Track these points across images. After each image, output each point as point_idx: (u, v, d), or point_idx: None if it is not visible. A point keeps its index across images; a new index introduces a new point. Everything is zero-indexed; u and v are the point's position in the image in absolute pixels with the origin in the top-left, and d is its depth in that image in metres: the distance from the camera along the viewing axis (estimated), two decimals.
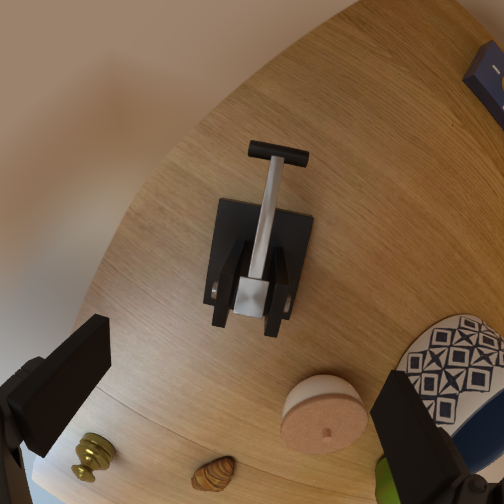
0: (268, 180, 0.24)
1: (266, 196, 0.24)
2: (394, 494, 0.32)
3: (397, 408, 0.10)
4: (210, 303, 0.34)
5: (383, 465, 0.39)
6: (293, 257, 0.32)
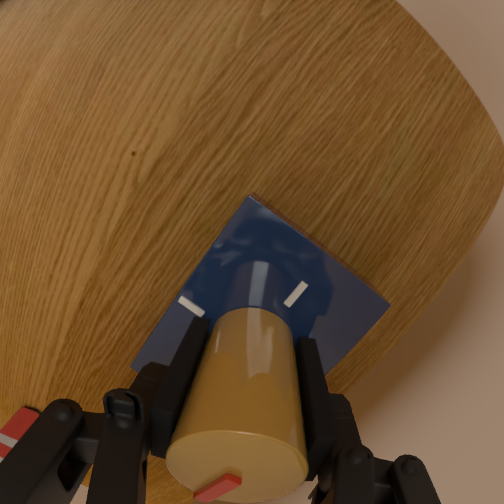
0: None
1: None
2: None
3: (299, 371, 0.12)
4: None
5: None
6: None
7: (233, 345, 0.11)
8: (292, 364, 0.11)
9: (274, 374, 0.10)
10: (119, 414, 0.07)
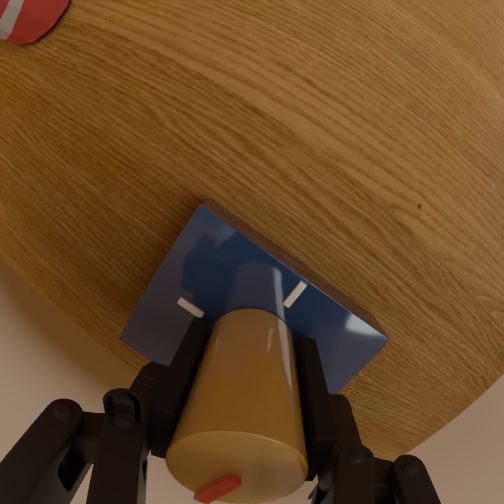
0: None
1: None
2: None
3: (299, 371, 0.12)
4: None
5: None
6: None
7: (232, 346, 0.11)
8: (292, 365, 0.11)
9: (274, 375, 0.10)
10: (119, 413, 0.07)
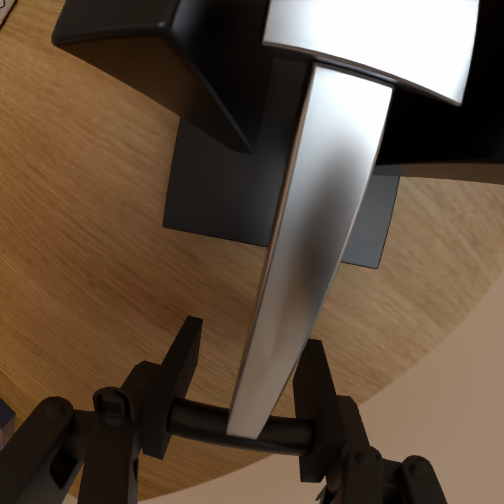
0: (266, 413, 0.07)
1: (273, 390, 0.07)
2: None
3: (306, 373, 0.12)
4: None
5: None
6: None
7: None
8: None
9: None
10: (109, 412, 0.07)
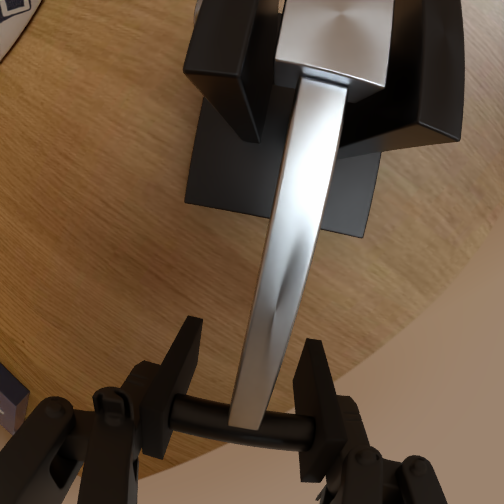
0: (269, 386, 0.08)
1: (276, 349, 0.08)
2: None
3: (306, 373, 0.12)
4: None
5: None
6: (220, 121, 0.15)
7: None
8: None
9: None
10: (108, 412, 0.07)
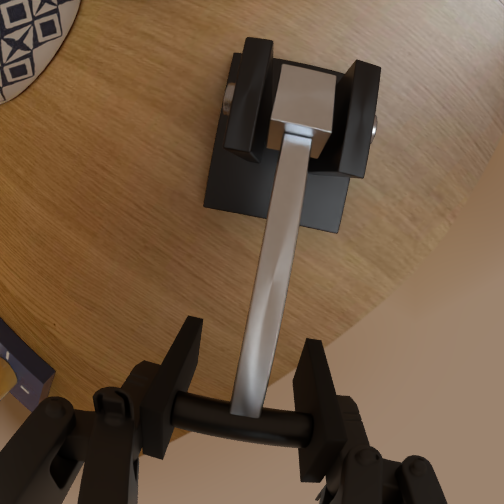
0: (269, 359, 0.10)
1: (274, 318, 0.10)
2: None
3: (306, 373, 0.12)
4: None
5: None
6: None
7: None
8: None
9: None
10: (109, 412, 0.07)
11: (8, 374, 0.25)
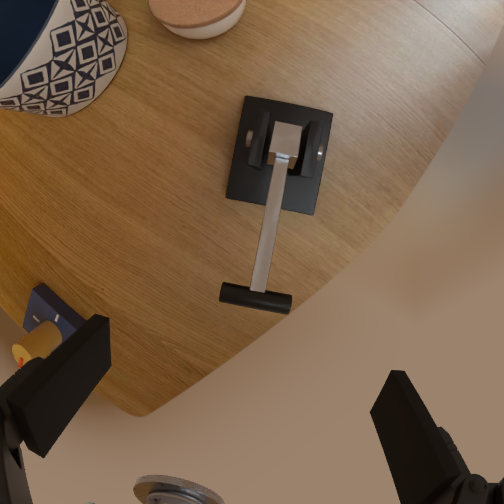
0: (268, 261, 0.21)
1: (271, 241, 0.22)
2: None
3: (397, 408, 0.10)
4: (325, 113, 0.31)
5: None
6: (243, 159, 0.33)
7: (33, 330, 0.34)
8: (46, 337, 0.35)
9: (35, 337, 0.33)
10: None
11: (56, 334, 0.37)
